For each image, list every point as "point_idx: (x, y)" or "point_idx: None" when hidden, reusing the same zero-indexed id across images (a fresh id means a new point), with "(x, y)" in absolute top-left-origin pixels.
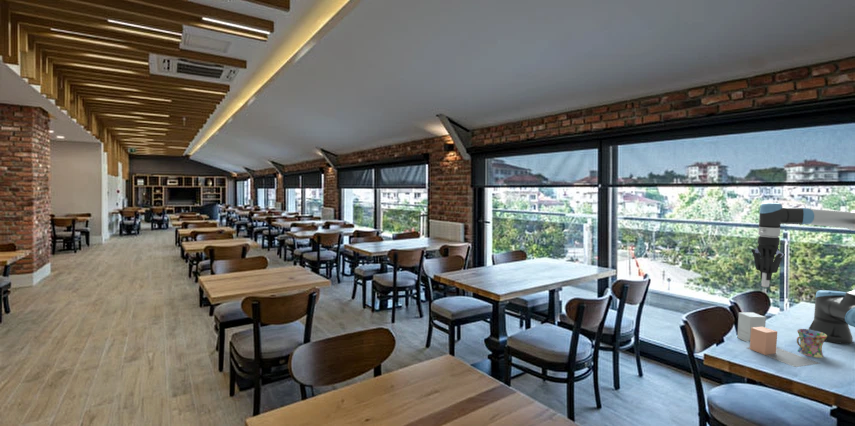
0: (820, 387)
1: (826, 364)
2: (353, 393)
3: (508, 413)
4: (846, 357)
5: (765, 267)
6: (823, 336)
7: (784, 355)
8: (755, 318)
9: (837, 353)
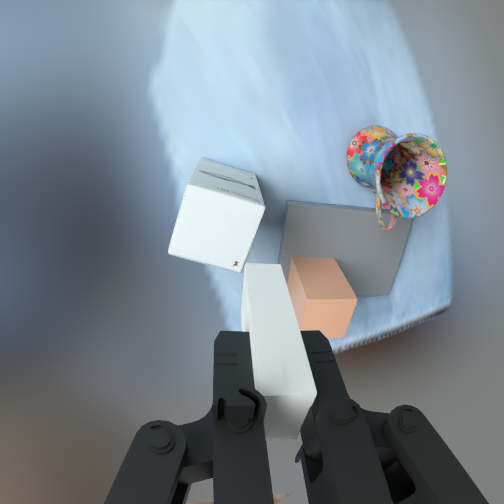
0: (424, 314)
1: None
2: None
3: (277, 499)
4: (411, 60)
5: (265, 492)
6: (431, 152)
7: (351, 250)
8: (248, 252)
9: (388, 43)
